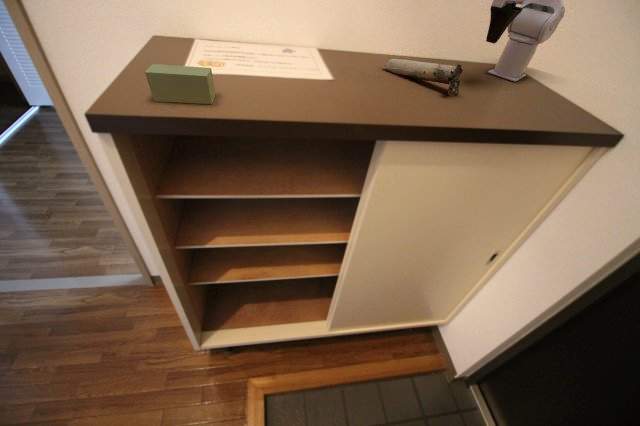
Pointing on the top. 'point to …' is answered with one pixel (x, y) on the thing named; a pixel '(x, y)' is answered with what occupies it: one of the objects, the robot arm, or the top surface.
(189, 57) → the top surface
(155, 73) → the green rectangular block
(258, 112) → the top surface
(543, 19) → the robot arm
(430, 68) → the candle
